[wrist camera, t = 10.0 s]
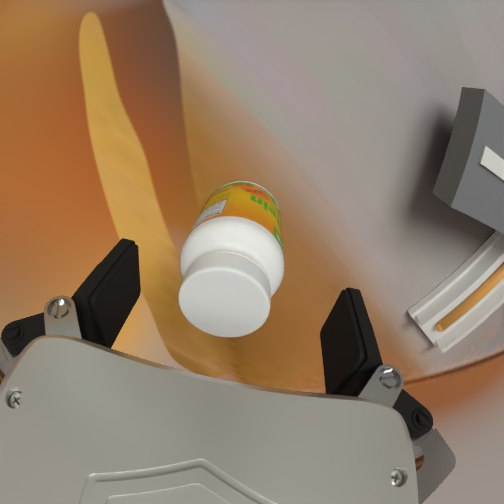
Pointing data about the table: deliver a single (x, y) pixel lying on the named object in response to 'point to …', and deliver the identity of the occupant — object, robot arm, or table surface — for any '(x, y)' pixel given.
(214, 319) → the supplement bottle
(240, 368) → the table surface
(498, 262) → the duct base
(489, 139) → the block
